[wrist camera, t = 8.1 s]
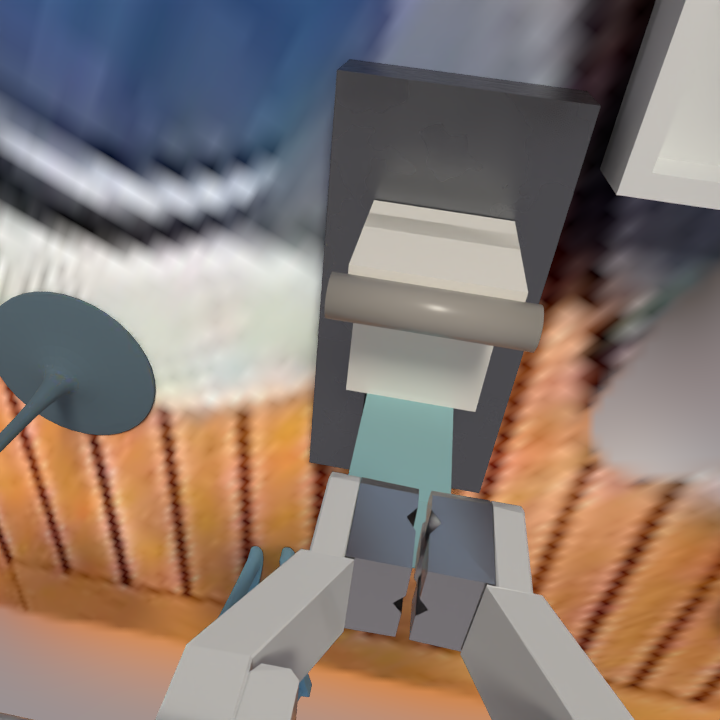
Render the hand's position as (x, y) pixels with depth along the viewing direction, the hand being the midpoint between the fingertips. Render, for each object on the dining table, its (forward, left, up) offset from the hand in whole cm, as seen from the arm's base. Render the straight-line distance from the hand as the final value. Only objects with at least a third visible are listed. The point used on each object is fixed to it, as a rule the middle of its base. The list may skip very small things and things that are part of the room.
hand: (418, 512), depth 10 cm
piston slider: (+5, 0, -17) cm, 18 cm away
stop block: (+11, 0, -21) cm, 23 cm away
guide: (+7, 0, -21) cm, 22 cm away
